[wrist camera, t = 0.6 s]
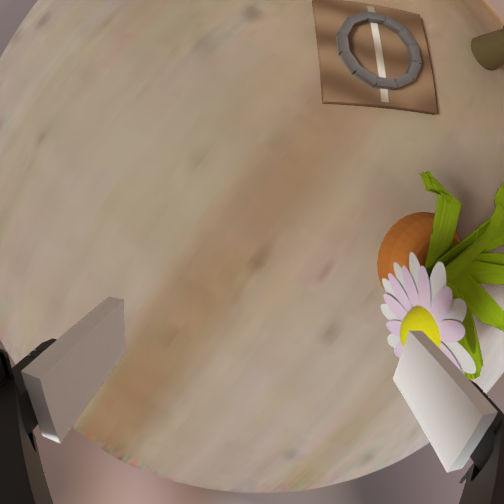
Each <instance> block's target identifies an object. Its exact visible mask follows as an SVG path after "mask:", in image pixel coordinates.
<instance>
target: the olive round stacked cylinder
mask: <svg viewBox="0 0 504 504" xmlns="http://www.w3.org/2000/svg"><path fill="white" fill-rule="evenodd" d="M471 49H472V52H473V54H474V56H475V58H476V60H477V61H478V62H479V63H480V64H481V65H482V66H483V67H484V68H486V69H488V70H494V69H496V68H497V67H499V66H500V65H502V64H503V63H504V26H503V29H501V30H498V31H494V32H491V33H488V34H485V35H482V36H479V37H476V38H473V40H472V41H471Z"/></svg>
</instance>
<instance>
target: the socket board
mask: <svg viewBox="0 0 504 504" xmlns="http://www.w3.org/2000/svg"><path fill="white" fill-rule="evenodd" d="M312 4H313V12H314V20H315V28H316V36H317V46H318V55H319V66H320V77H321V90H322V104H339V105H355V106H367V107H378V108H388V109H397V110H405V111H412V112H419V113H426V114H432V115H434V114H437V105H436V97H435V89H434V82H433V76H432V70H431V64H430V58H429V53H428V48H427V43H426V39H425V34H424V30H423V26H422V22H421V18H420V15H419V14H415V13H411V12H406V11H402V10H398V9H393V8H388V7H383V6H377V5H372V4H366V3H359V2H352V1H344V0H313V1H312Z"/></svg>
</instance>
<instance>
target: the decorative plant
mask: <svg viewBox="0 0 504 504" xmlns="http://www.w3.org/2000/svg"><path fill="white" fill-rule="evenodd" d="M422 173H423V174H420V173H419V174H420V176H421V178H422V180H423V183H424V185H425V188H426V191H430V192H433V193H435V194H437V195H438V198H437V204H436V211H435V215H434V214H431V213H425V212H420V213H414V214H411V215H408V216H406V217H404V218H402V219H401V220H399V221H398V222H397V223H396V224H395V225H394V226H392V228H391V229H390V230H389V232H388V233H387V234H386V236H385V238H384V240H383V242H382V244H381V247H380V250H379V255H378V261H377V264H378V275H379V279H380V282H381V284H382V286H383V288H384V289H385V291H386V293H387V294H384V295H383V296H384V300H385V302H386V304H382V305H381V310H382V312H383V314H384V315H385V316H386V318H387V319H388V320H389V321H388V322H387V324H386V326H387V328H388V330H389V331H390V332H391V334H390V335H389V336H388V339H387V340H388V343H389V344H390V346H392V347H393V348H395V349H394V354H395V355H396V356H397V357H399V358H400V357H401V354H402V351H403V348H404V345H405V342H406V339H407V335H408V332H409V330H411V331H423V332H424V333H425V334H426V335H427V336H428V337H429V338H430V339H431V340H432V341H433V342H434V343H435V344H436V345H437V347H438V348H439V349H440V350H441V351H442V352H443V353H444V354H445V355H446V356H447V357H448V358H449V359H450V360H451V361H452V362H453V363H454V364H455V365H456V366H457V367H458V368H459V370H460V371H461V370H462V371H464V373H465V376H466V377H467V378H468V379H469V380H471V379H475V378H477V377H479V376H480V371H481V367H482V366H483V360H482V355H481V350H480V345H479V341H478V336H477V332H476V328H475V324H474V320H473V316H472V313H473V314H474V315H476V316H477V317H478V318H479V319H480V320H481V321H482V322H483V323H485V324H488V325H491V326H494V327H496V328H499V329H500V330H502V331H504V311H503V310H502V309H501V307H500V306H499V305H498V304H497V303H496V302H495V301H494V299H493V298H492V297H491V296H490V295H489V294H488V293H487V292H486V291H485V289H484V288H483V287H482V286H481V285H480V284H479V283H485V284H503V285H504V253H488V252H489V251H491V250H493V249H495V248H497V247H499V246H500V245H502V244H504V220H503V218H504V184H502V186H501V187H500V188H499V189H498V191H497V194H496V196H495V199H494V203H495V207H496V209H495V211H494V213H493V216H492V217H490V218H489V219H488V220H487V221H486V222H485V223H483V224H482V225H481V226H480V224H479V226H480V227H479V228H477V229H476V230H475V231H474V232H473V233H471V234H470V235H469V236H468V237H466V238H465V239H464V240H462V241H461V240H460V238H459V236H458V234H457V232H456V231H455V230H456V226H457V221H458V217H459V213H460V208H461V203H460V202H459V201H458V200H457V199H456V198H455V197H454V196H453V195H451V194H450V193H449V192H448V191H447V190H446V189H445V188H444V187H443V186H442V185H441V184H440V183H439V182H438V181H437V180H436V179H435V178H434V177H433V175H432V174H431V172H422ZM462 371H461V372H462Z"/></svg>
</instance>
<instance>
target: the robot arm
mask: <svg viewBox="0 0 504 504" xmlns="http://www.w3.org/2000/svg"><path fill="white" fill-rule="evenodd" d="M125 353H126V343H125V324H124V300H123V299H117V298H112V297H108V298H107V299H106V300H104V301H103V302H102V303H101V304H99V305H98V306H97V307H96V308H95V309H93V310H92V311H91V312H90V313H88V314H87V315H86V316H85V317H84V318H82V319H81V320H80V321H79V322H78V323H76V324H75V325H74V326H73V327H72V328H70V329H69V330H68V331H67V332H66V333H64V334H63V335H62V336H61V337H60V338H59V339H57V340H56V339H50V340H48V341H46V342H43V343H41V344H40V345H39V346H38V347H37V348H35V350H34V351H32V352H31V353H29V354H28V356H26V357H25V358H23V359H22V360H21V361H20V362H19V363H18V364H16V365H15V366H14V367H13V368H11V364H10V360H9V357H8V354H7V353H6V352H5V351H4V350H2V349H0V504H53V501H52V498H51V496H50V493H49V489H48V486H47V482H46V479H45V476H44V472H43V468H42V464H41V460H40V456H39V452H38V448H37V443H36V438H35V435H34V433H33V429H34V428H35V427H36V426H37V424H38V425H39V428H40V430H41V433H42V435H43V436H44V437H47V438H49V439H51V440H54V441H56V442H58V443H61V442H62V440H63V439H64V438H65V436H66V435H67V433H68V432H69V430H70V429H71V428H72V426H73V425H74V423H75V422H76V420H77V419H78V418H79V416H80V415H81V413H82V412H83V411H84V409H85V408H86V406H87V405H88V404H89V402H90V401H91V399H92V398H93V397H94V395H95V394H96V392H97V391H98V390H99V388H100V387H101V386H102V384H103V383H104V381H105V380H106V379H107V377H108V376H109V375H110V373H111V372H112V371H113V369H114V368H115V367H116V365H117V364H118V363H119V361H120V360H121V358H122V357H123V356H124V354H125ZM393 380H394V382H395V384H396V385H397V387H398V389H399V390H400V392H401V394H402V395H403V397H404V398H405V400H406V402H407V403H408V405H409V407H410V409H411V410H412V412H413V414H414V415H415V417H416V419H417V420H418V422H419V424H420V426H421V427H422V429H423V431H424V432H425V434H426V436H427V438H428V439H429V441H430V443H431V445H432V446H433V448H434V450H435V452H436V454H437V455H438V457H439V459H440V460H441V463H442V464H443V466H444V468H445V470H446V471H447V472H450V471H454V470H458V469H461V468H463V466H464V465H465V464H466V462H467V461H468V459H469V458H470V457H471V459H472V460H473V462H474V463H473V464H472V466H471V467H470V468H469V470H468V471H467V473H466V474H465V475H464V477H463V478H462V479H461V481H460V482H459V483H462V482H463V481H464V480H465V479H466V483H465V486H464V490H463V493H462V496H461V499H460V503H459V504H504V414H503V413H502V412H501V410H500V409H499V408H498V407H497V406H496V405H495V404H494V403H493V402H492V401H491V399H490V398H488V396H487V395H486V394H485V393H483V390H482V389H481V388H480V387H479V386H478V385H477V384H476V383H474V382H472V381H471V380H469V379H468V378H467V377H466V376H465V375H464V374H463V373H462V372H461V371H460V370H459V368H458V367H457V366H456V365H455V364H454V363H453V362H452V361H451V360H450V359H449V358H448V357H447V356H446V355H445V354H444V353H443V352H442V351H441V350H440V349H439V348H438V347H437V345H436V344H435V343H434V342H433V341H432V340H431V339H430V338H429V337H428V336H427V335H426V334H425V333H424V332H423V331H411V330H409V332H408V335H407V339H406V342H405V345H404V348H403V351H402V354H401V357H400V360H399V363H398V366H397V369H396V371H395V374H394V377H393Z"/></svg>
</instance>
